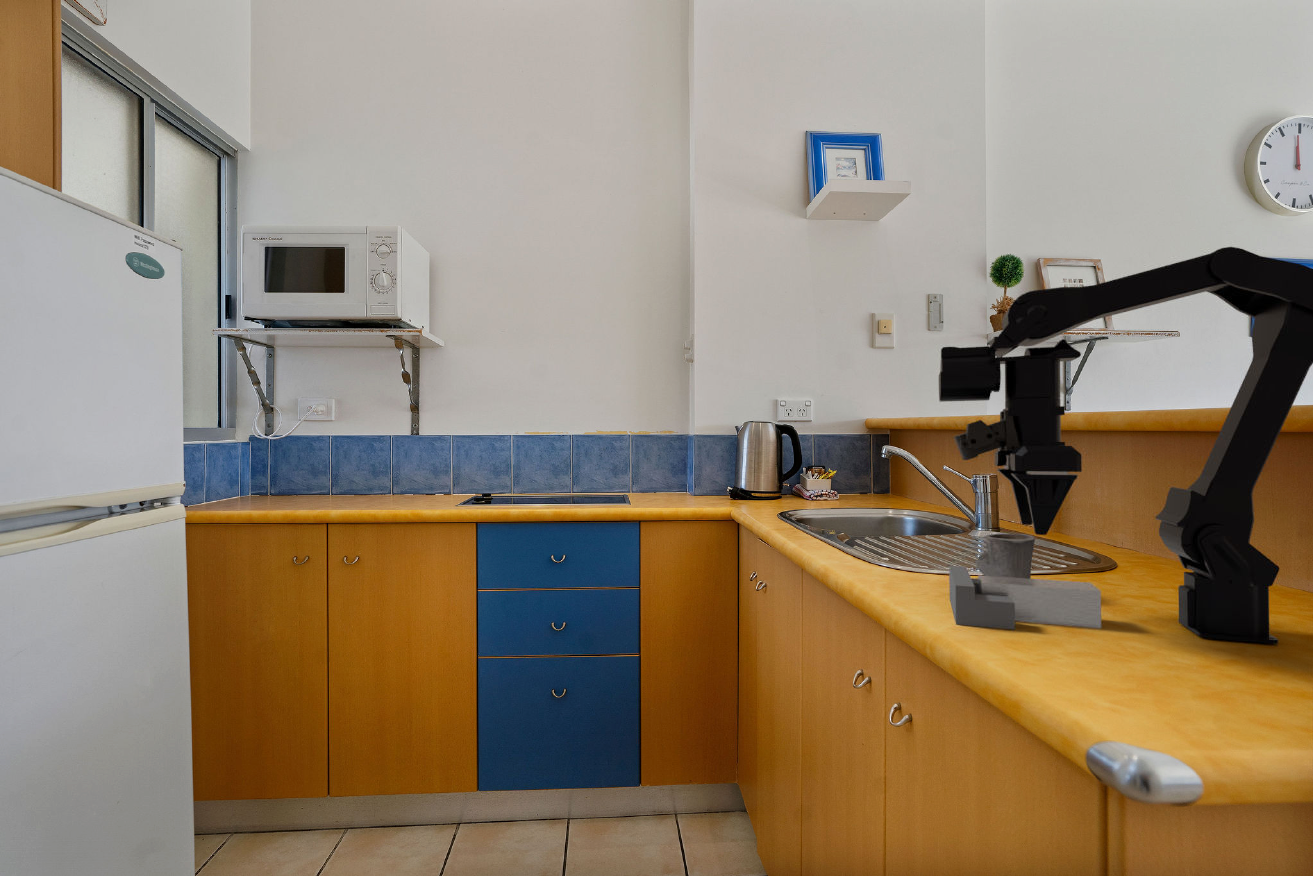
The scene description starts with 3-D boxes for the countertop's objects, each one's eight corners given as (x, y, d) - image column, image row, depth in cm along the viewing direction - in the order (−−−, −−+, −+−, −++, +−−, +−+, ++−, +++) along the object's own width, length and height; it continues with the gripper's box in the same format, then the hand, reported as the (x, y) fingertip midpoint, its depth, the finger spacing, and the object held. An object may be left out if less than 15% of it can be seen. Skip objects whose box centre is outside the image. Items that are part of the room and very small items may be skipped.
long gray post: (1090, 620, 75) (1090, 582, 75) (1101, 630, 71) (1100, 590, 71) (978, 610, 80) (978, 575, 80) (981, 620, 75) (981, 582, 76)
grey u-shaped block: (1000, 603, 82) (999, 568, 82) (1015, 629, 71) (1014, 589, 71) (949, 599, 84) (949, 565, 85) (955, 624, 73) (955, 585, 73)
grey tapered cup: (1005, 578, 97) (1004, 527, 97) (1046, 599, 84) (1046, 539, 84) (964, 578, 98) (963, 526, 98) (999, 598, 85) (998, 539, 85)
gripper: (953, 405, 87) (954, 518, 87) (964, 396, 70) (965, 536, 70) (1046, 403, 83) (1047, 521, 83) (1082, 393, 66) (1083, 542, 66)
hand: (1033, 529), depth 75 cm, fingers open, 9 cm apart
